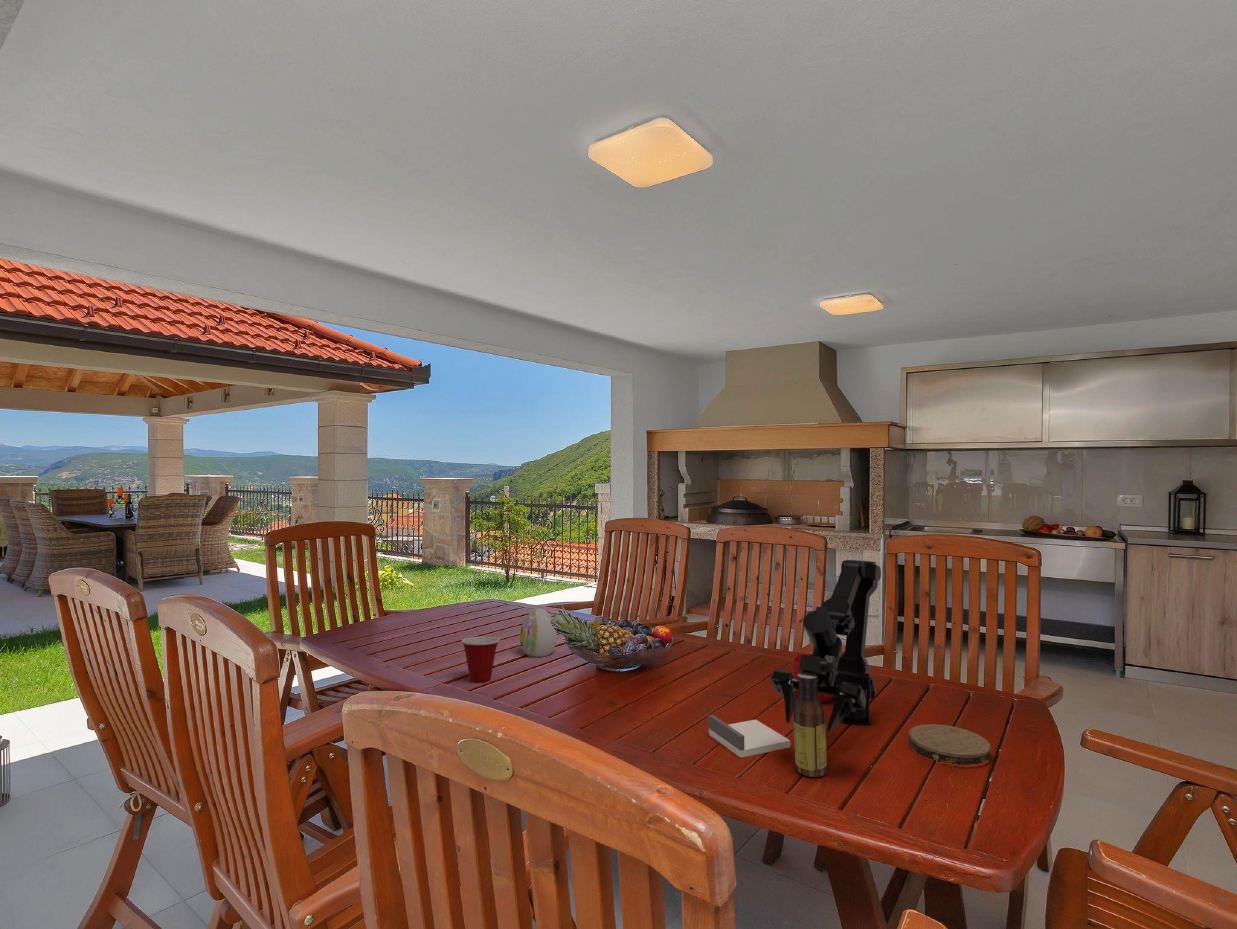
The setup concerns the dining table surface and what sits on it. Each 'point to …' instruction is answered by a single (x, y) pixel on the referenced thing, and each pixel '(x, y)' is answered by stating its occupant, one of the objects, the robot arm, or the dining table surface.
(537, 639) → the decorative egg
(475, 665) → the plastic cup
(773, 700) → the dining table surface
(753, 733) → the display stand
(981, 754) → the grey-brown flat disc
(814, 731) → the sauce bottle
